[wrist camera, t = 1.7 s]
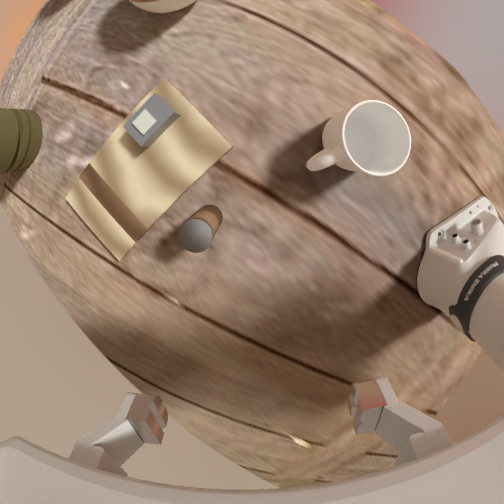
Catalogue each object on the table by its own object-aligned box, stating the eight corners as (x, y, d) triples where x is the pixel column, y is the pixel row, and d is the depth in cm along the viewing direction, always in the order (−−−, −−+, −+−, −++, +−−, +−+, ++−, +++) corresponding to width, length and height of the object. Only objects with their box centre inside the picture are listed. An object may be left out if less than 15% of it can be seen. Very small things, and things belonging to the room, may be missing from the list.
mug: (314, 192, 37) (333, 205, 28) (285, 138, 35) (295, 132, 25) (384, 156, 35) (421, 158, 25) (359, 104, 33) (390, 90, 23)
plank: (167, 80, 32) (164, 78, 31) (233, 147, 36) (232, 146, 34) (70, 196, 38) (65, 198, 37) (123, 257, 41) (119, 261, 40)
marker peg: (210, 198, 38) (195, 212, 29) (228, 218, 39) (218, 237, 30) (191, 216, 39) (172, 235, 30) (209, 235, 40) (195, 259, 31)
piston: (-15, 189, 26) (-41, 166, 24) (32, 177, 37) (2, 158, 35) (1, 116, 22) (-26, 102, 21) (50, 118, 34) (18, 104, 32)
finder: (162, 96, 32) (154, 92, 29) (180, 115, 33) (173, 111, 30) (132, 128, 33) (121, 126, 30) (149, 146, 34) (140, 146, 31)
